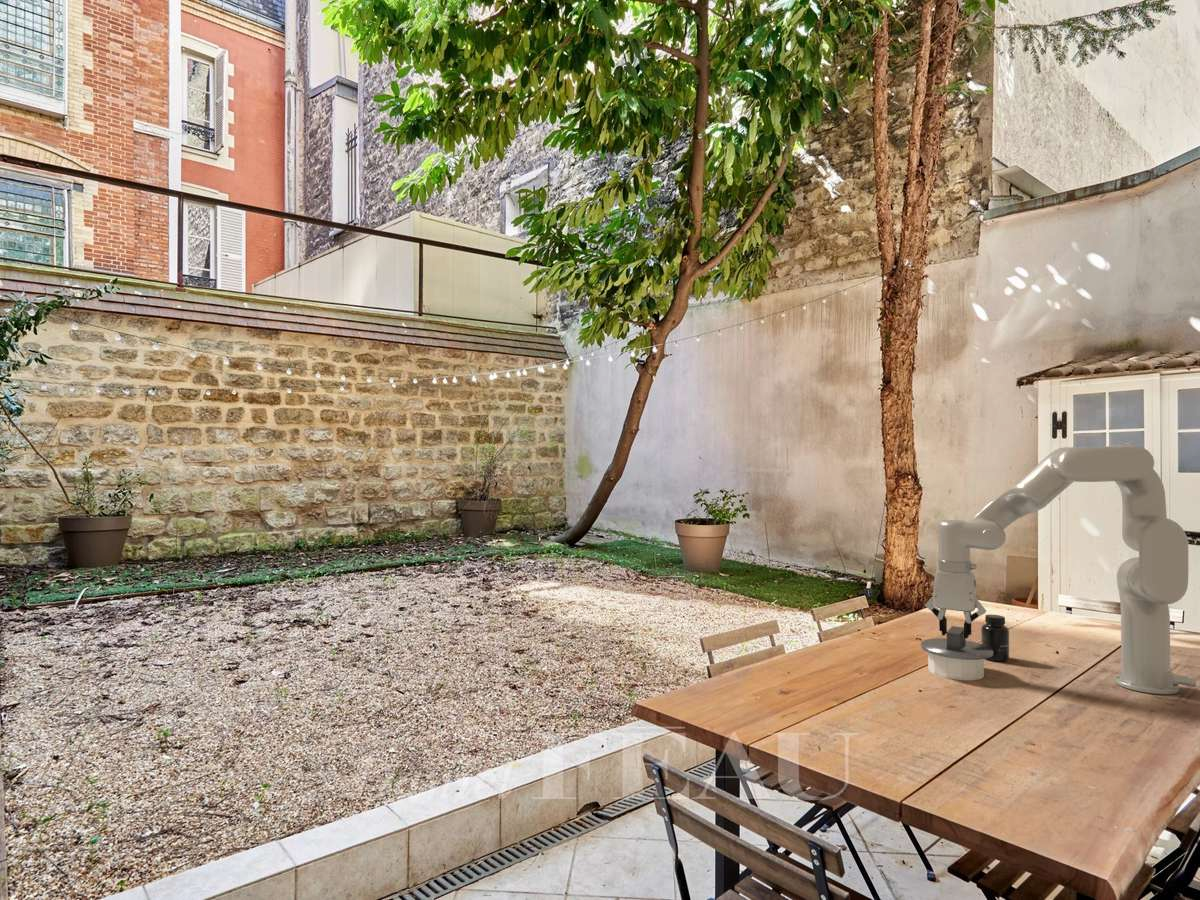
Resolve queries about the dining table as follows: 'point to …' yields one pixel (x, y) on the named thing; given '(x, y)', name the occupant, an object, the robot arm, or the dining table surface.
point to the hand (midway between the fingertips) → (955, 634)
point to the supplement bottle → (996, 637)
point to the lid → (956, 646)
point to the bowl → (956, 667)
